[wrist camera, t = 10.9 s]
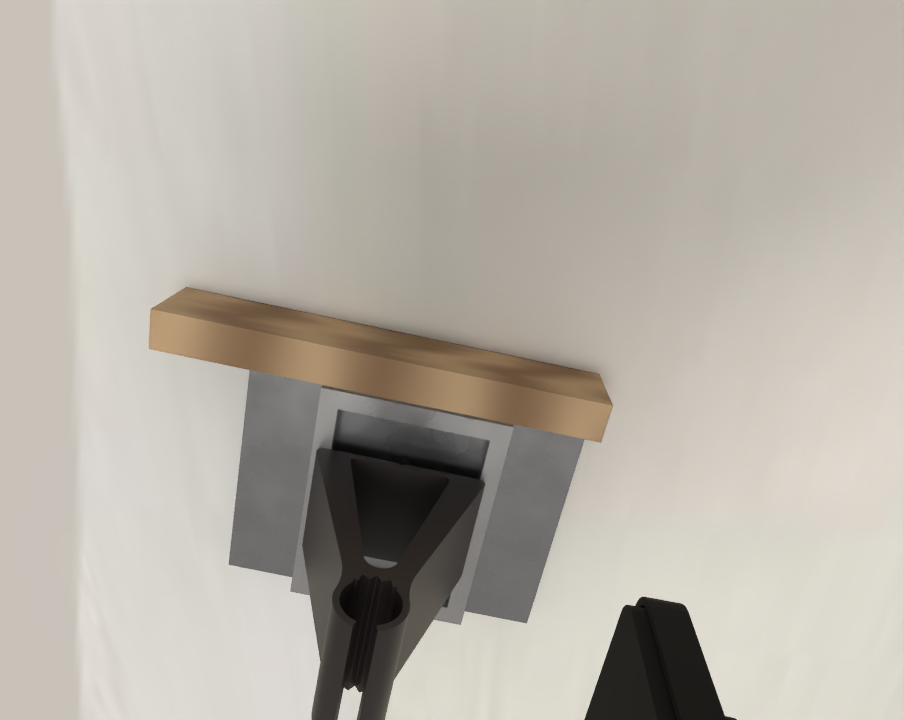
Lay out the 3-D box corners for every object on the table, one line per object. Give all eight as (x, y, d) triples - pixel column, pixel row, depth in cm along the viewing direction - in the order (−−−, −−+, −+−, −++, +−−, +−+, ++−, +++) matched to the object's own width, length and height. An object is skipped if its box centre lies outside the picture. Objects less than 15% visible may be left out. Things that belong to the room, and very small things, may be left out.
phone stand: (485, 480, 36) (487, 652, 24) (461, 571, 38) (453, 768, 27) (318, 445, 35) (242, 603, 24) (303, 539, 37) (227, 724, 26)
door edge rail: (599, 374, 36) (612, 405, 32) (588, 408, 36) (601, 442, 33) (186, 287, 35) (150, 308, 31) (183, 323, 36) (148, 348, 32)
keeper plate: (583, 424, 37) (589, 443, 35) (525, 611, 41) (528, 637, 39) (256, 356, 36) (242, 371, 34) (234, 554, 41) (221, 577, 39)
